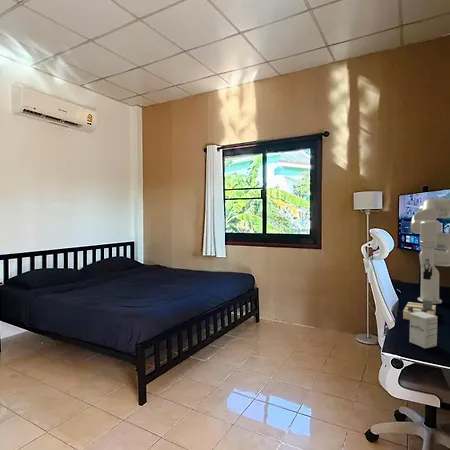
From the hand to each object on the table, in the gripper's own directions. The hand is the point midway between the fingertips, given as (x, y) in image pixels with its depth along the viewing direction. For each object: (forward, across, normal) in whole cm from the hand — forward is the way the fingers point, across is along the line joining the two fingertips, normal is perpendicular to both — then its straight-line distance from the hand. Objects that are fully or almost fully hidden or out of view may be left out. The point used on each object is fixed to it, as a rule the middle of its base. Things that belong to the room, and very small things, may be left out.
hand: (427, 277), depth 173 cm
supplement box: (+20, +42, +2) cm, 47 cm away
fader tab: (+16, +1, 0) cm, 16 cm away
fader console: (+20, +1, -3) cm, 21 cm away
